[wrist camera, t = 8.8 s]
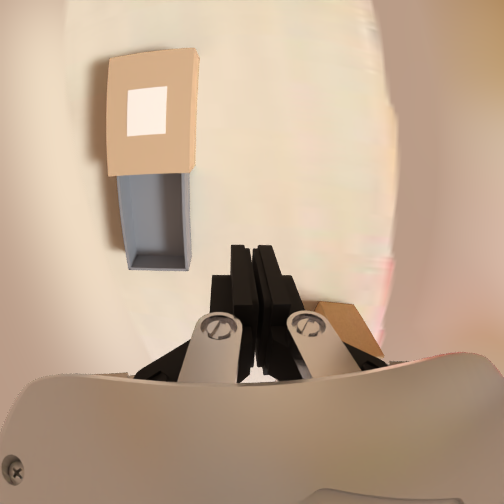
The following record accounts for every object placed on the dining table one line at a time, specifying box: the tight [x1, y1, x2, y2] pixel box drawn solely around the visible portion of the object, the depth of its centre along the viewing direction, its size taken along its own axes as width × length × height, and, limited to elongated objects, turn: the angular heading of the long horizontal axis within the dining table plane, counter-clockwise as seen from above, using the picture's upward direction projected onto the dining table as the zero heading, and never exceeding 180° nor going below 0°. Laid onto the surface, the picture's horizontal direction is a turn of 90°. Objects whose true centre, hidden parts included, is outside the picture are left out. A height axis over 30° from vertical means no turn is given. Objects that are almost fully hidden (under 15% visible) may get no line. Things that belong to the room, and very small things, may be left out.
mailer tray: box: [117, 173, 192, 271], centre depth 37 cm, size 15×9×4 cm, turn 177°
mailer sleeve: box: [106, 48, 200, 177], centre depth 30 cm, size 16×11×6 cm
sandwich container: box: [314, 301, 384, 358], centre depth 47 cm, size 9×15×15 cm, turn 167°
